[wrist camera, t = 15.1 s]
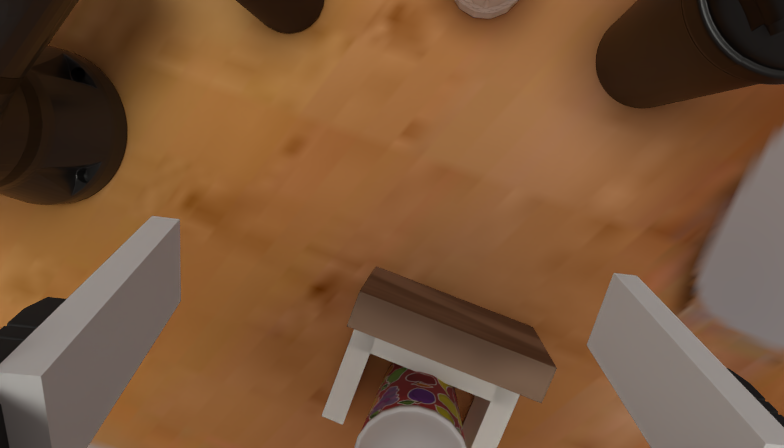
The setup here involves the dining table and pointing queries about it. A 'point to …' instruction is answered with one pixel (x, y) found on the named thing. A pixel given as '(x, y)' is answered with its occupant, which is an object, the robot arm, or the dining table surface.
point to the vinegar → (284, 13)
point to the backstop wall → (453, 333)
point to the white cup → (485, 7)
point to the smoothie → (412, 413)
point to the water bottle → (691, 49)
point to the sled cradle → (489, 399)
